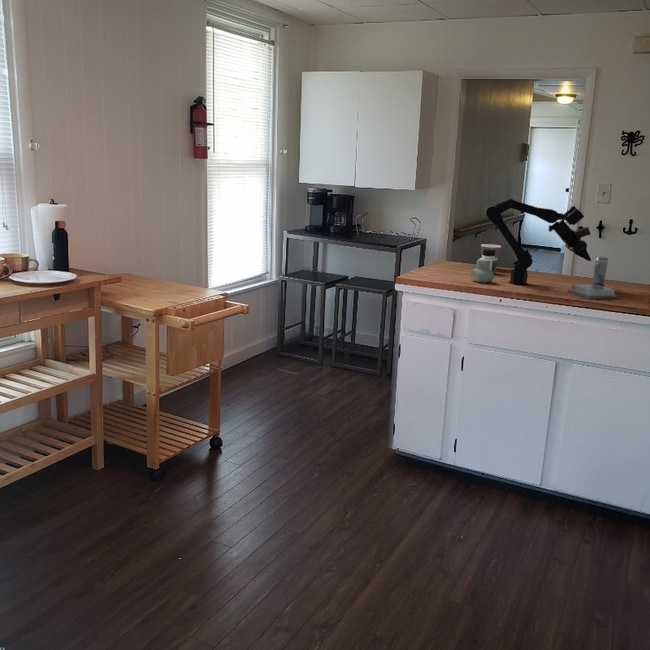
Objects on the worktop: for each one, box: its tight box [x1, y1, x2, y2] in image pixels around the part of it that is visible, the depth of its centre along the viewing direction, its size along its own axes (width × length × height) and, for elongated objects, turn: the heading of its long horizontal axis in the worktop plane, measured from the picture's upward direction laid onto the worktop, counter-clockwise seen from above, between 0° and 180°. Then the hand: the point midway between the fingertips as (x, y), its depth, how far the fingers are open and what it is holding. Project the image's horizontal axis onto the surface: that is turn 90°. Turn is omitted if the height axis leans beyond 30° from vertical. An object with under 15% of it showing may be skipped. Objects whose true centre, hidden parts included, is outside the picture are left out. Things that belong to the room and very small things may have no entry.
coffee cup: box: [480, 243, 502, 264], centre depth 342 cm, size 10×10×12 cm
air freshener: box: [470, 258, 496, 284], centre depth 304 cm, size 11×8×10 cm
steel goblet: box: [592, 256, 609, 287], centre depth 297 cm, size 7×7×14 cm
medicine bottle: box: [479, 248, 498, 274], centre depth 329 cm, size 7×7×12 cm
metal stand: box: [567, 283, 618, 300], centre depth 283 cm, size 14×14×4 cm
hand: (588, 259), depth 297 cm, fingers open, 9 cm apart
